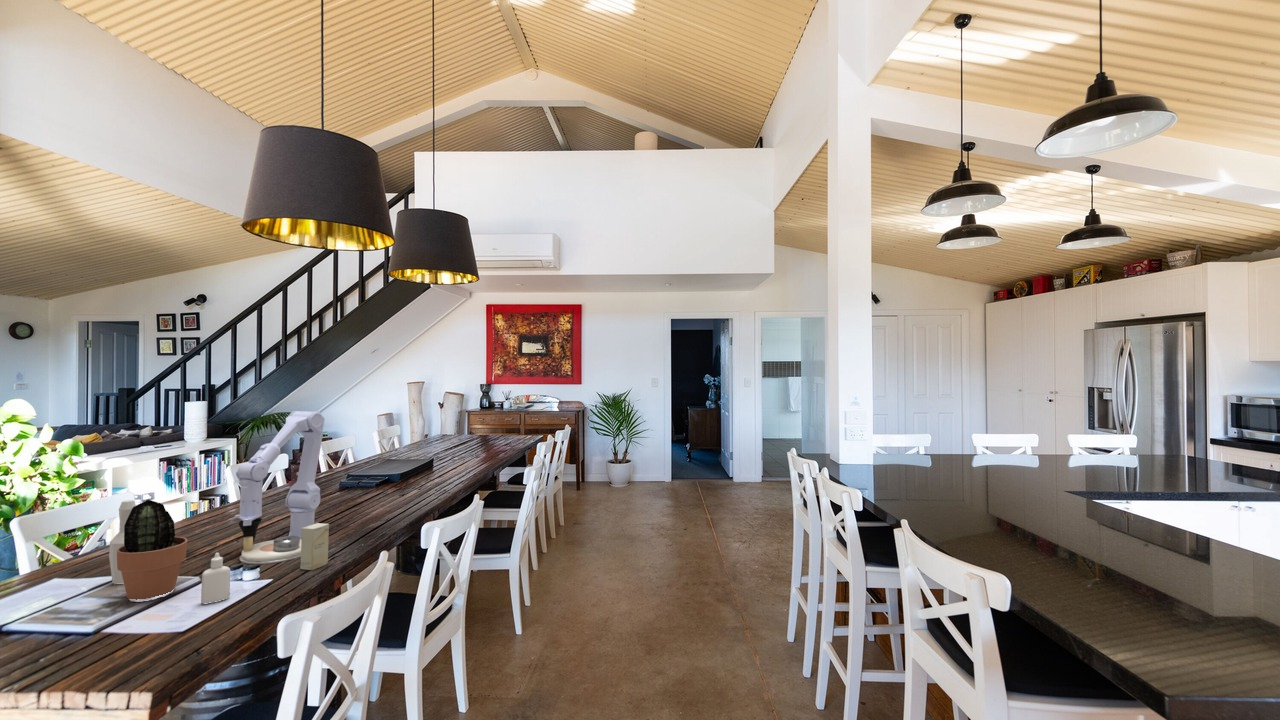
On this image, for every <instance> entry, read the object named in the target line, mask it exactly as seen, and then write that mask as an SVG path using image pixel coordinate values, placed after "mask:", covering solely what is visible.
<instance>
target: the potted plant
mask: <svg viewBox="0 0 1280 720" xmlns="http://www.w3.org/2000/svg"><path fill="white" fill-rule="evenodd" d="M135 505H136V506H134V507H133V508H132V510H131V512H130V514H129V517H128V519H127V521H126V523H125V525H124V545H123V546H121V547H119V548H118V549H117V569H118V570H119V571H121V573H122V577H123V581H124V584H123V585H124V589H125V590H124V591H125V594H126V598H128V599H136V600H137V599H146V598H151V597H155V596H159V595H163V594H166V593H168V592H171V591H172V590H173V589H174V590H175V587H176V583H177V580H178V576H179V573H180V569H181V566H182V562H183V561H185V560H186V558H187V549H188V548H187V547H188V539H187V538H186V537H182V536H176V531H175V529H176V528H175V521H174V520H173V518H172V515H171V514H170V512H169V511H167V510H166V507H165V506H164V504H163V503H161V502H158V501H154V500H151V499H146V500H144V501H143V502H141V503H139V504H135ZM128 599H127V600H128Z"/></svg>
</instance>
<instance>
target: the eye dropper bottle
mask: <svg viewBox="0 0 1280 720" xmlns="http://www.w3.org/2000/svg"><path fill="white" fill-rule="evenodd" d="M223 562H224V557H223V556H220V553H219V552H215V554H214V557H212V558H211V559H210V568H208V569H206V570H204V571H203V572H202V575H201V589H200V590H201V592H200V593H201V596H200V602H201V604H203V603H209V602H215V601H219V600H223V599H226V600H228V599H230V594H231V593H230V591H231V569H230V567H229V566H225V565H224V563H223ZM227 598H228V599H227ZM223 601H224V600H223Z"/></svg>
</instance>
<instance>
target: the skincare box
mask: <svg viewBox="0 0 1280 720" xmlns="http://www.w3.org/2000/svg"><path fill="white" fill-rule="evenodd" d="M329 529H330V524H329V523H322V522H321V523H319V522H317V523H314V524H313V525H310V526H307V527H304V528H302V538H300V539H301V557H300V567H299V568H300V570H305V571H314V570H316V569H318V568H321V567H324V566H325V565H328V564H329V563H328V562H329V533H330V532H329Z"/></svg>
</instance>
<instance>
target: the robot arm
mask: <svg viewBox="0 0 1280 720" xmlns="http://www.w3.org/2000/svg"><path fill="white" fill-rule="evenodd" d="M324 425H325V417H324V416H323V414H322V413H321V412H319V411H306V410H305V411H303V410H302V411H301V410H293V411H292V412H290V413H289V415H288V416H286V418H285V424H284V425H283V426H282V427H281V429H280V430H279V431H278V433H277V434H276V435H275V436H274V438H273V439H272V440H271V442H268V443H264V444H262V445H261V446H260V447H259V450H257V452H256V453H255V454H254V455H253V456H252V457H250V459H249V460H248V461H246V462H243V463H242V464H241V465H240V466H238V469H237V471H236V472H235V476H236V478H237V479H238V482H239V483H238V484H239V486H240V492H239V493H240V494H239V501H240V502H239V514H235V515H234V519H240V521H239V522H238V527H239V528H240V530H241V531H242V532H241V533H242V535H243V538H244V537H248V536H253V543H254V542H255V539H256V536H257V532H258V528H259V525H260V523H261V522H262V519H263V518H262V516H263V512H262V510H263V509H262V508H263V507H262V506H263V483H264V479H265V478H266V477H267V476H268V474H269V470H270V467H271V465H272V464H273V463H274V462H275V461H276V460H277V458H278V457H279V456H280V455H281V448H282V447H283V446H284V445H286V444H287V442H288V441H290V440H291V438H292V437H294V435H296V434H297V433H299V434H301V435H302V437H303V438H304V441H303V446H302V452H301V456H300V464H299V468H298V475H297V478H296V482H295V483H293V485H291V486H290V487H289V491H288V493H287V495H286V498H285V506H286V507H287V508H288V511H289V512H290V522H289V523H290V526H289V527H290V528H289V533H288V536H299V537H300V539H301V538H302V528H304V527H307V526H310V525H313V524H315V512H316V510H317V508H318V507H319V505H320V503H321V488H320V486H318V484H316V483H315V482H316V481H315V480H316V475H317V471H318V470H317V469H318V465H319V458H320V452H321V446H322V441H323V436H324V435H323V434H324V432H323V431H324Z"/></svg>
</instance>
